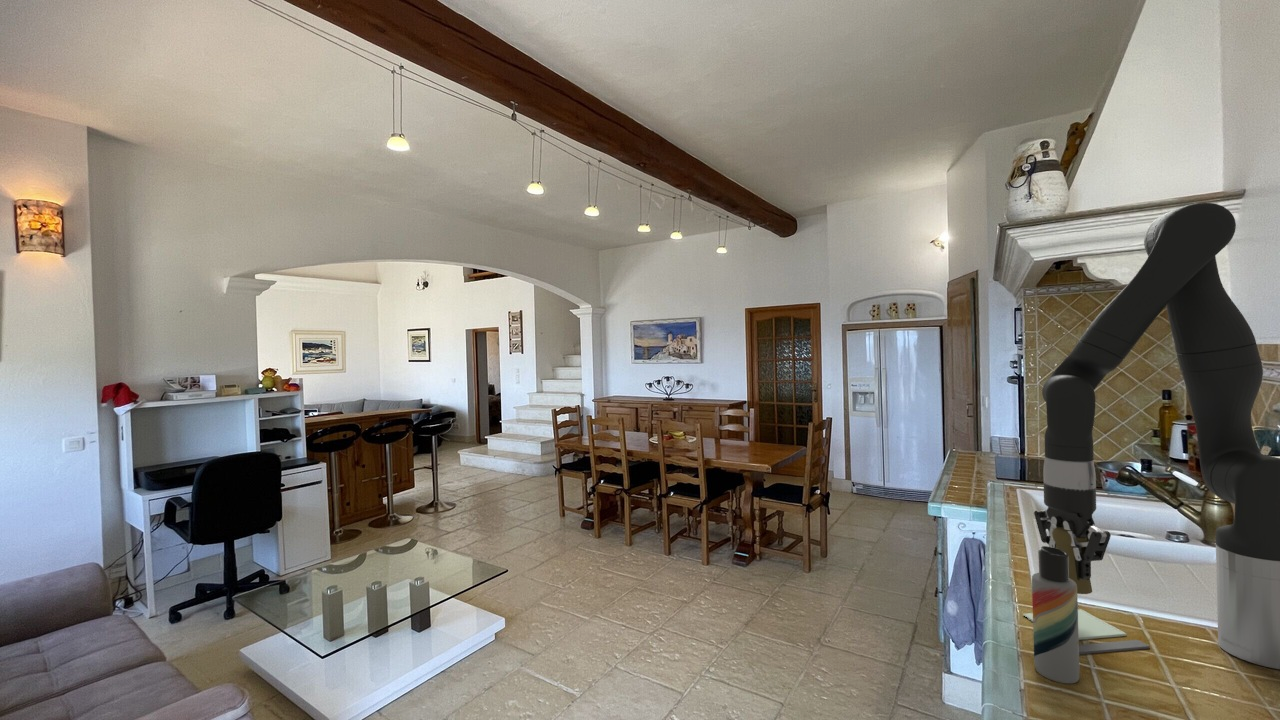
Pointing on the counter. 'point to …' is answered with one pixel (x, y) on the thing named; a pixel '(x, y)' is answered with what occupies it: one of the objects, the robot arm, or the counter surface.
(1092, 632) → the mat
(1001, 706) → the counter surface
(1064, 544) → the cork
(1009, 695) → the counter surface
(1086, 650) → the charcoal line
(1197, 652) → the counter surface
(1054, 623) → the lotion bottle
